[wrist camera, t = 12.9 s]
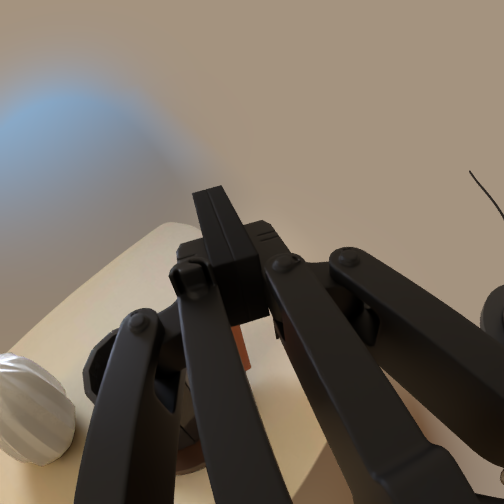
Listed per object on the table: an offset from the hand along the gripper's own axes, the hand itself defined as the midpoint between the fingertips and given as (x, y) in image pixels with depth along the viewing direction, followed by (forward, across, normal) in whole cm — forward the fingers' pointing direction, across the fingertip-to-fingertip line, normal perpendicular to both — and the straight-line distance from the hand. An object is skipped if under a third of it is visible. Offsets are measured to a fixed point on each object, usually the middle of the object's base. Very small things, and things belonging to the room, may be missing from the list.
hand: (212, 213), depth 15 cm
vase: (+3, -30, -25) cm, 39 cm away
